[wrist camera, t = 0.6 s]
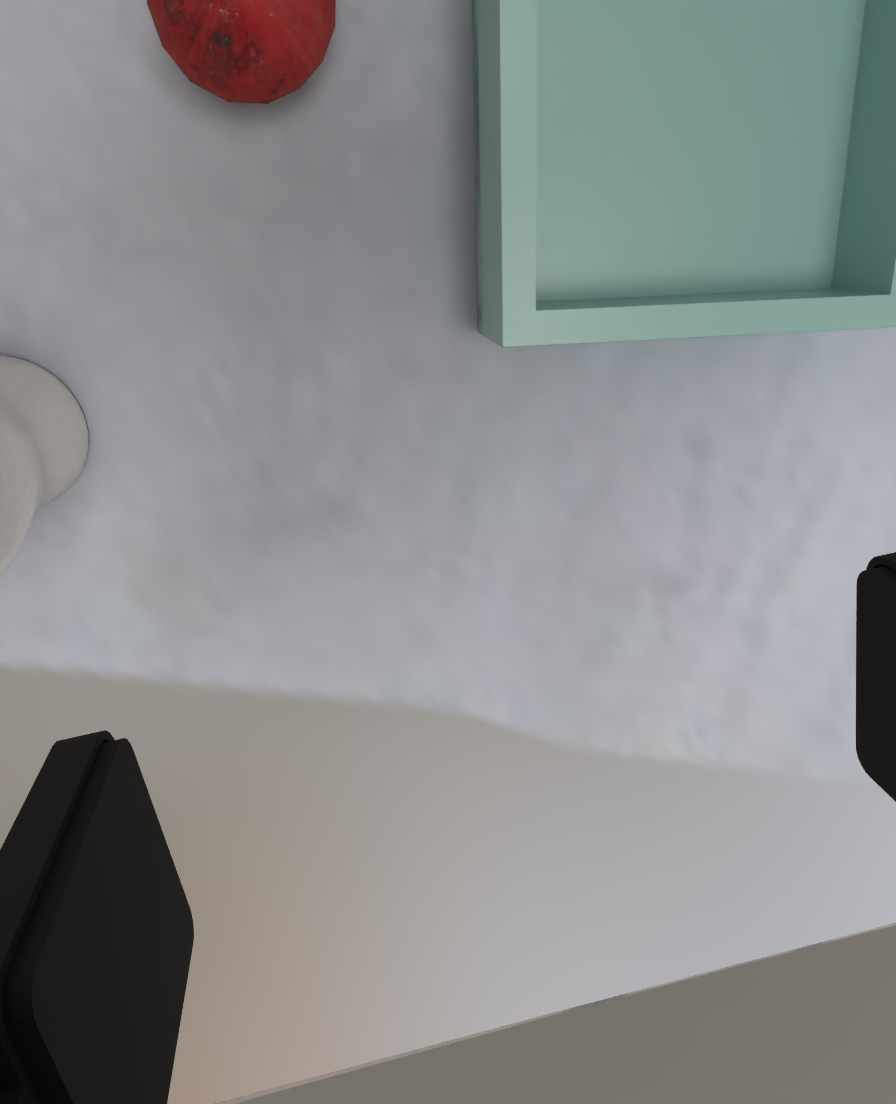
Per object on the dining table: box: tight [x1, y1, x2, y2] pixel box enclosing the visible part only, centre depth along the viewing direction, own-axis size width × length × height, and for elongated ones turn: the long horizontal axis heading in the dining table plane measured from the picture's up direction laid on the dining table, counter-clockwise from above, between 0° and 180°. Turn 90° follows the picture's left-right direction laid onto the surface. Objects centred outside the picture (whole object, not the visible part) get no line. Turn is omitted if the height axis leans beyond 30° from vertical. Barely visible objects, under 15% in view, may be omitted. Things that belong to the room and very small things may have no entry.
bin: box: [472, 0, 896, 347], centre depth 31 cm, size 16×16×5 cm
